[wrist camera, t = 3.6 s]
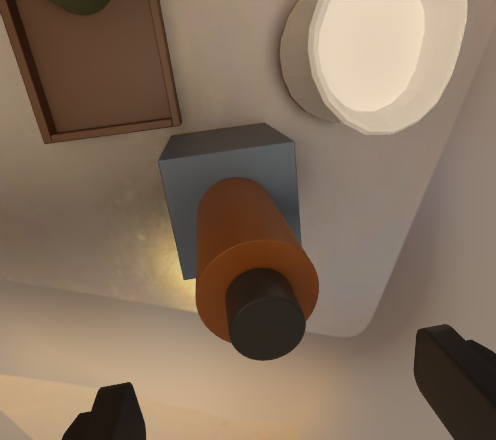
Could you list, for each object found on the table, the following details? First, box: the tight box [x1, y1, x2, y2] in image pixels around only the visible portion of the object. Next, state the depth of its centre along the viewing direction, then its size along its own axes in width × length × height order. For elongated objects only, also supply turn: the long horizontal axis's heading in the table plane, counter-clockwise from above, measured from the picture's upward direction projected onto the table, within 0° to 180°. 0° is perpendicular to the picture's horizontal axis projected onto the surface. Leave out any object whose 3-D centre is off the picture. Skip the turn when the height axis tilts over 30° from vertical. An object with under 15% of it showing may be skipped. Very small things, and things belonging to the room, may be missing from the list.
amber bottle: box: [196, 177, 319, 361], centre depth 17 cm, size 5×5×11 cm
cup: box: [280, 0, 468, 135], centre depth 24 cm, size 10×10×10 cm
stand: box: [158, 123, 301, 280], centre depth 26 cm, size 8×8×10 cm
